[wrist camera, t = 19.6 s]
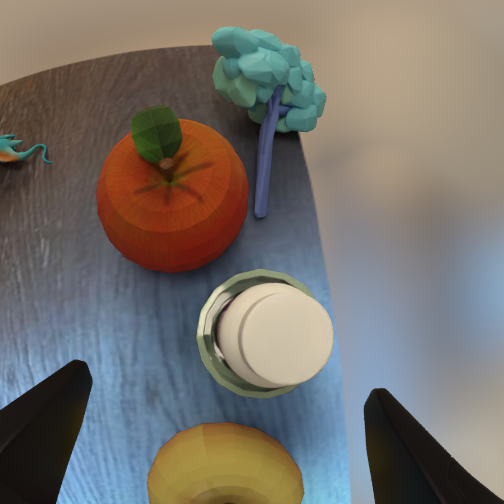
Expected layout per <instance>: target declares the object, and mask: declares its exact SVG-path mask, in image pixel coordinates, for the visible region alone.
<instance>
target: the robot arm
mask: <svg viewBox="0 0 504 504" xmlns="http://www.w3.org/2000/svg"><path fill="white" fill-rule="evenodd" d="M92 383H93V380H92V376H91V374H90V371H89V368H88V365H87V363H86V362H84V361H80V360H73V361H71V362H70V363H68V364H67V365H65V366H64V367H62V368H61V369H59V370H58V371H56V372H55V373H53V374H52V375H51V376H49V377H48V378H46V379H45V380H43V381H42V382H40V383H39V384H37V385H36V386H35V387H33V388H32V389H30V390H29V391H27V392H26V393H24V394H23V395H21V396H20V397H19V398H17V399H16V400H14V401H13V402H11V403H10V404H8V405H7V406H6V407H4V408H3V409H1V410H0V504H56V501H57V498H58V494H59V491H60V488H61V485H62V481H63V478H64V475H65V472H66V469H67V466H68V463H69V460H70V457H71V454H72V451H73V448H74V445H75V442H76V439H77V437H78V434H79V431H80V428H81V425H82V422H83V419H84V415H85V411H86V407H87V403H88V399H89V395H90V392H91V388H92ZM364 421H365V435H366V450H367V456H368V462H369V468H370V473H371V480H372V486H373V492H374V499H375V504H504V500H502V499H501V498H499V497H498V496H496V495H495V494H494V493H493V492H491V491H490V490H489V489H488V488H486V487H485V486H484V485H483V484H481V483H480V482H479V481H478V480H477V479H475V478H474V477H473V476H472V475H471V474H469V473H468V472H467V471H466V470H465V469H464V468H463V467H462V466H461V465H460V464H459V463H458V462H457V461H456V460H455V459H454V458H453V457H451V455H450V454H449V453H448V452H447V451H446V450H445V449H444V448H443V447H442V446H441V445H440V444H439V443H438V442H437V441H436V440H435V439H434V437H432V435H430V434H429V433H428V431H426V430H425V428H424V427H423V426H422V425H421V424H420V423H419V422H418V421H417V420H416V419H415V418H414V417H413V416H412V415H411V414H410V413H409V412H408V411H407V410H406V409H405V408H404V407H403V406H402V405H401V404H400V403H399V402H398V401H397V400H396V399H395V398H394V397H393V396H392V394H390V392H389V391H387V390H386V389H385V388H377V389H373V390H372V391H371V393H370V395H369V397H368V399H367V401H366V403H365V405H364Z"/></svg>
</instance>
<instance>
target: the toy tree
mask: <svg viewBox="0 0 504 504" xmlns="http://www.w3.org/2000/svg"><path fill="white" fill-rule="evenodd" d="M212 43H213V46H214V47H215V49H216V50H217V51H218V52H219V53H220V54H221V55H222V56H221V57H220V58H219V59H218V60H217V62H216V65H215V69H214V72H213V76H212V78H213V81H214V85H215V89H216V91H217V92H218V93H219V94H221V95H222V96H223V97H224V98H225V99H226V100H227V101H228V102H229V103H231V102H234V103H235V104H236V105H237V106H239V107H242V108H244V109H247V110H248V115H249V117H250V119H251V120H252V121H254V122H256V123H259V124H261V128H260V135H259V142H258V154H257V171H256V188H255V207H254V216H255V217H259V218H262V217H265V216H266V214H267V203H268V192H269V181H270V170H271V159H272V147H273V137H274V133H275V131H277V132H283V133H286V132H289V131H291V130H293V131H301V132H308V131H311V130H313V129H314V128H315V127H316V123H317V118H318V117H321V116H322V113H323V110H324V106H325V102H326V95H325V93H324V92H323V91H322V90H321V89H320V88H319V87H318V86H317V85H316V84H315V83H314V80H315V79H314V75H313V71H312V67H311V64H310V63H308V62H305V61H303V60H300V51H299V49H298V48H297V47H294V46H291V45H287V44H282V43H281V42H280V40H279V39H278V38H277V37H276V36H275V35H273V34H270V33H268V32H265V31H262V30H260V29H255V30H251V31H246V30H245V29H243V28H240V27H222V28H220V29H218V30H217V31H216V32H215V33H214V34H213V36H212ZM233 108H234V107H233ZM236 108H237V107H236Z"/></svg>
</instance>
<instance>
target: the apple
mask: <svg viewBox="0 0 504 504" xmlns="http://www.w3.org/2000/svg"><path fill="white" fill-rule="evenodd" d="M147 487H148V495H149V503H150V504H301V502H302V499H303V496H304V488H303V481H302V475H301V471H300V469H299V467H298V465H297V464H296V463H295V461H294V460H293V459H292V457H291V456H290V455H289V453H288V452H287V450H286V449H285V448H284V446H283V445H282V444H281V443H280V442H278V441H277V440H275V439H274V438H272V437H270V436H269V435H267V434H265V433H264V432H262V431H261V430H259V429H257V428H253V427H249V426H244V425H240V424H236V423H232V422H226V423H206V424H200V425H198V426H195V427H193V428H190V429H187V430H184V431H182V432H179V433H177V434H176V435H175V436H174V437H173V438H171V439H170V440H169V441H168V442H167V443H166V444H165V445H163V446H162V447H161V448H160V449H159V451H158V453H157V455H156V457H155V460H154V462H153V464H152V467H151V469H150V471H149V474H148V479H147Z"/></svg>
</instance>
